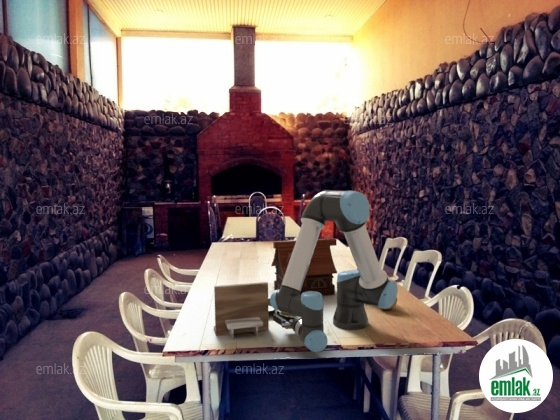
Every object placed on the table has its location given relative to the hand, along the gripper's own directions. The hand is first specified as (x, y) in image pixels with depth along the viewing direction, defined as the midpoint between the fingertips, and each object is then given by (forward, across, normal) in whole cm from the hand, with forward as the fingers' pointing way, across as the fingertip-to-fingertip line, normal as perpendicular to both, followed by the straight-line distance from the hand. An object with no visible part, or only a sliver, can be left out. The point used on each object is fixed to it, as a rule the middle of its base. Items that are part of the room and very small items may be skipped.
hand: (287, 309), depth 187 cm
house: (+53, +25, -10) cm, 60 cm away
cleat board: (+1, -19, -8) cm, 21 cm away
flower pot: (-5, 0, -6) cm, 8 cm away
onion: (+13, +53, -10) cm, 55 cm away
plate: (+30, -4, -9) cm, 32 cm away
